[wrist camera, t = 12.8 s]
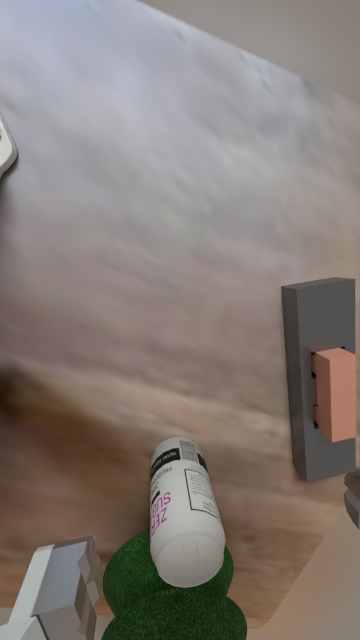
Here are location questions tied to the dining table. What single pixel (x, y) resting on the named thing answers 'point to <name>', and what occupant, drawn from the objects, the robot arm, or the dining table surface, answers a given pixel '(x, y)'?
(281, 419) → the dining table surface
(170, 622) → the decorative tree
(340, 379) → the pink notched block
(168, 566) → the supplement can
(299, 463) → the rail
